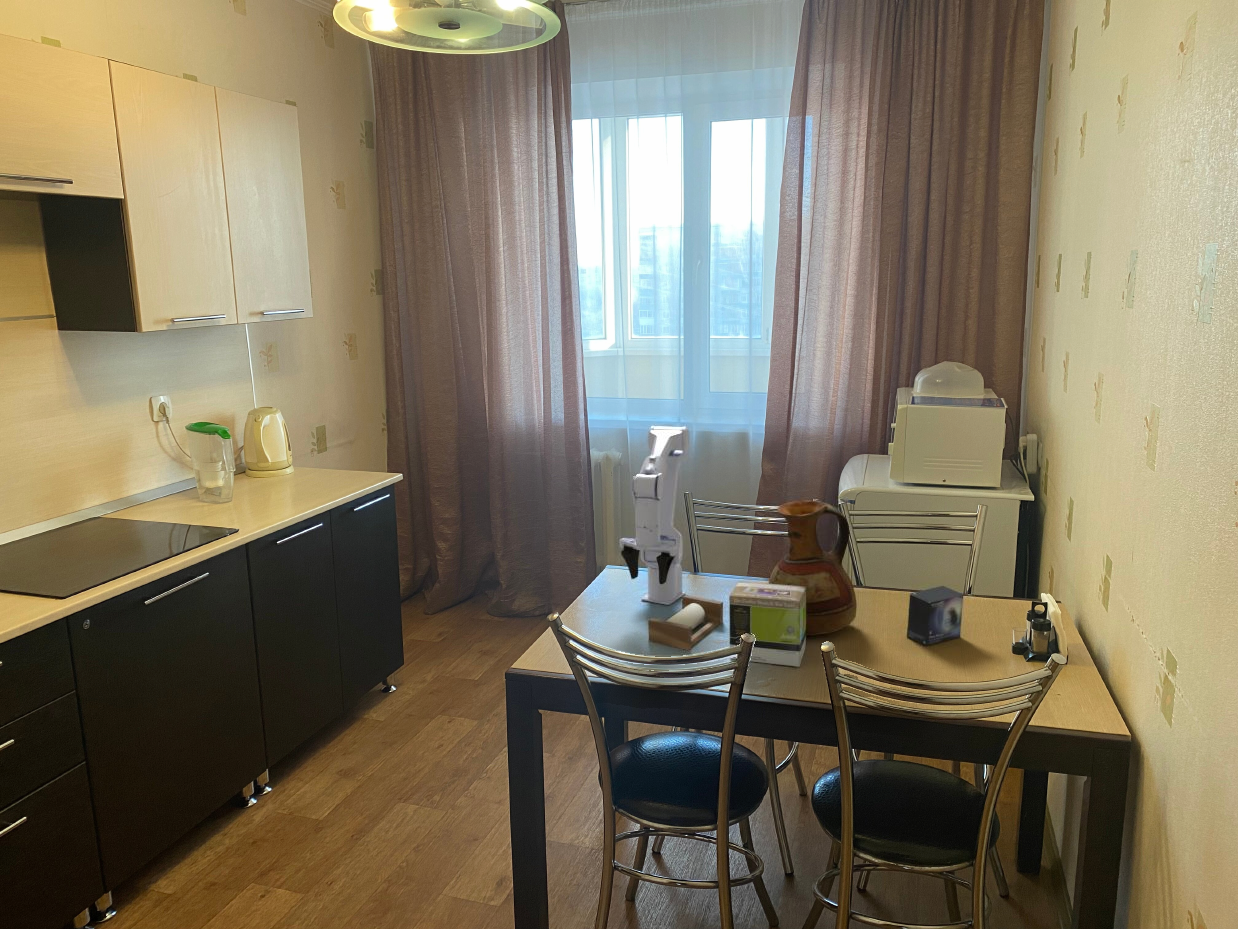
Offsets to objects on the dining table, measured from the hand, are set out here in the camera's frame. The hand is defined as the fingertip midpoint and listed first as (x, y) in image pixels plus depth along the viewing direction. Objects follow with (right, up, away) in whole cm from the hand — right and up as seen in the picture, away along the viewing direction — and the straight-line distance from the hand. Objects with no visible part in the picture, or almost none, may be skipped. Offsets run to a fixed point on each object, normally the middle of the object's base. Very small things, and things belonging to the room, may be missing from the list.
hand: (648, 580), depth 212 cm
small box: (+63, -12, -11) cm, 65 cm away
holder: (+9, -11, -5) cm, 15 cm away
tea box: (+25, -14, -18) cm, 34 cm away
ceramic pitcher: (+37, -10, -4) cm, 39 cm away
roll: (+8, -9, -6) cm, 13 cm away
